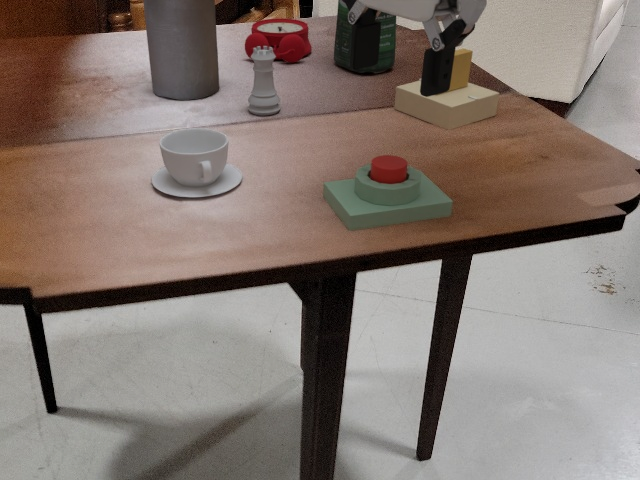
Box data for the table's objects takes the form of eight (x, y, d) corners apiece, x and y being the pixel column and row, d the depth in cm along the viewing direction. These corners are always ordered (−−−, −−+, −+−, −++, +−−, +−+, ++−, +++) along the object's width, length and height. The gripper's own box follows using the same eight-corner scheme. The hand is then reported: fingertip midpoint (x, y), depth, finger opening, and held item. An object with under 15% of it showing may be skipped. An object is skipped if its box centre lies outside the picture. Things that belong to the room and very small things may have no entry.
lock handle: (458, 83, 98) (464, 46, 95) (467, 86, 97) (473, 48, 94) (426, 92, 95) (431, 54, 92) (435, 95, 94) (440, 57, 91)
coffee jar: (402, 70, 113) (416, -68, 101) (360, 78, 110) (369, -64, 98) (365, 54, 119) (374, -77, 108) (325, 62, 116) (329, -73, 105)
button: (397, 169, 76) (398, 153, 75) (411, 183, 73) (413, 166, 72) (364, 173, 75) (366, 157, 74) (378, 187, 72) (379, 171, 71)
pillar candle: (212, 76, 111) (205, -35, 101) (225, 97, 103) (220, -21, 94) (147, 82, 109) (135, -31, 99) (157, 103, 101) (144, -16, 92)
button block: (417, 184, 80) (421, 153, 78) (450, 216, 74) (455, 184, 72) (322, 197, 78) (323, 165, 76) (349, 231, 72) (351, 198, 70)
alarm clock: (316, 19, 123) (305, 19, 109) (314, 59, 125) (303, 64, 112) (255, 17, 124) (237, 17, 111) (254, 57, 127) (237, 62, 113)
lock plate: (496, 115, 97) (500, 91, 95) (448, 130, 93) (452, 106, 91) (440, 95, 103) (443, 72, 101) (393, 108, 99) (395, 85, 97)
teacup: (143, 171, 83) (138, 130, 80) (226, 158, 86) (224, 118, 83) (164, 208, 76) (159, 165, 73) (254, 192, 79) (253, 150, 76)
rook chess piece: (286, 107, 100) (286, 46, 95) (272, 118, 96) (271, 55, 92) (256, 103, 101) (255, 42, 96) (242, 113, 98) (239, 51, 93)
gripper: (537, -135, 55) (495, 96, 65) (382, -148, 66) (367, 51, 76) (467, -130, 51) (434, 113, 62) (316, -144, 62) (310, 64, 73)
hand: (397, 79), depth 69 cm, fingers open, 9 cm apart
